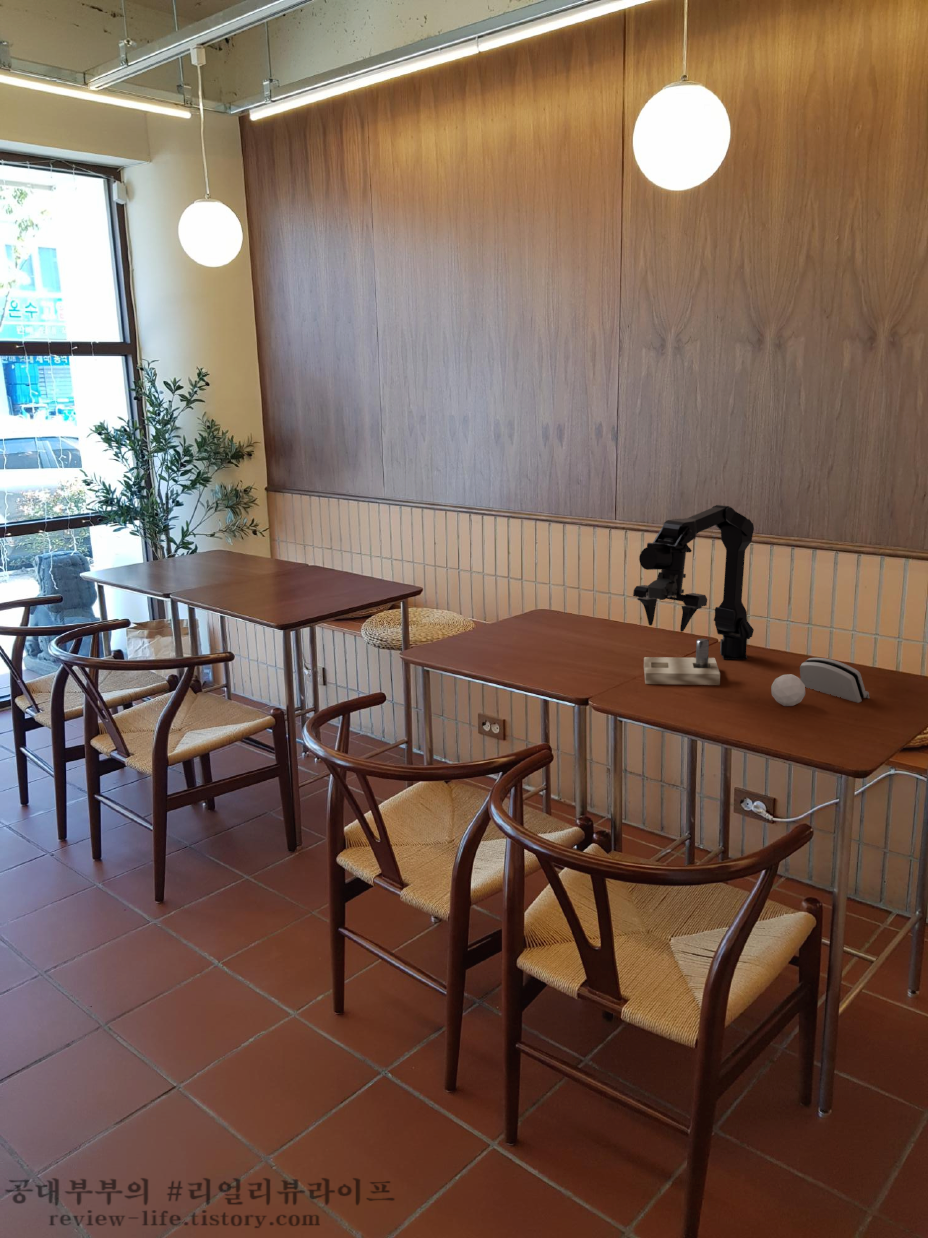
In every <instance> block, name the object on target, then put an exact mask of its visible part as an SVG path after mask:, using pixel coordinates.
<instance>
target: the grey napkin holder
mask: <svg viewBox="0 0 928 1238" xmlns="http://www.w3.org/2000/svg"><path fill="white" fill-rule="evenodd" d="M799 675H800V677H799V678H800V680H801V681H802V682H803V684H804V685H805V687H806V688H807V689H809V688H810V690H812V689H814V690H813V691H817V692H819V691H820V693H823V694H827V695H830V694H831V695H830V696H832V697H833V696H834V697H836V696H837V698H840V697H841V698H840V699H844V700H847V701H850V702H854V703H856V704H859V703H861V702H863V701H862V699H868V700H869V699H870V693H869V691H868V690H867V691H866V689H865V684H864V681H863V678H862V674H861V672H860V671H859V670H857V669H856V668H854V667H852V666H851V665H848V664H846V663H843V662H841V661H838V660H835V659H831V658H825V657H809V658H808V659H805V660H804V662H802V663H801V665H800V666H799ZM806 688H805V689H806Z"/></svg>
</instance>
